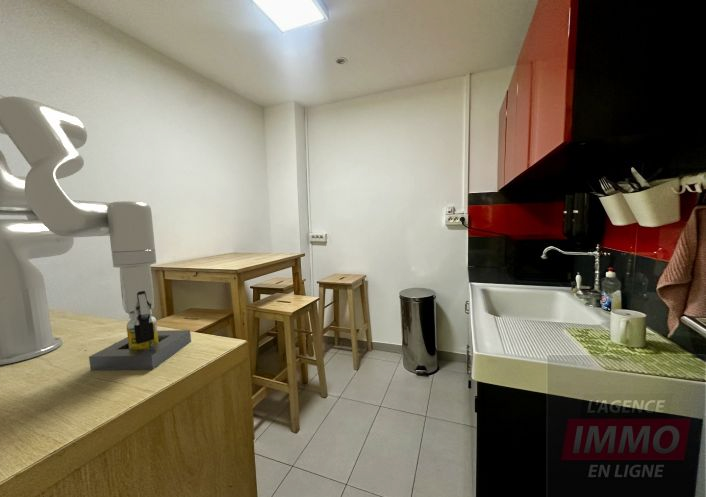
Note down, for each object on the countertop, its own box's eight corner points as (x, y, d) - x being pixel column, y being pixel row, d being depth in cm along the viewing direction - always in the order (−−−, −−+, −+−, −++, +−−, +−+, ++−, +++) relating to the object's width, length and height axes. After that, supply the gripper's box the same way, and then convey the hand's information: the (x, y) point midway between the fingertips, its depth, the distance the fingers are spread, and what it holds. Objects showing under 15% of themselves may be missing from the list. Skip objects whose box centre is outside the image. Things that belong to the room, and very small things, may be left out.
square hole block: (90, 370, 56) (88, 356, 56) (140, 342, 69) (139, 331, 69) (152, 369, 56) (151, 355, 56) (191, 341, 69) (190, 330, 69)
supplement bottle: (159, 343, 66) (155, 305, 65) (158, 352, 62) (154, 311, 61) (131, 349, 63) (126, 309, 62) (128, 359, 59) (123, 316, 58)
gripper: (110, 257, 64) (118, 331, 66) (115, 264, 52) (125, 355, 54) (149, 253, 69) (156, 323, 71) (163, 259, 57) (171, 343, 59)
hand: (143, 336), depth 62 cm, fingers closed on supplement bottle, 5 cm apart
